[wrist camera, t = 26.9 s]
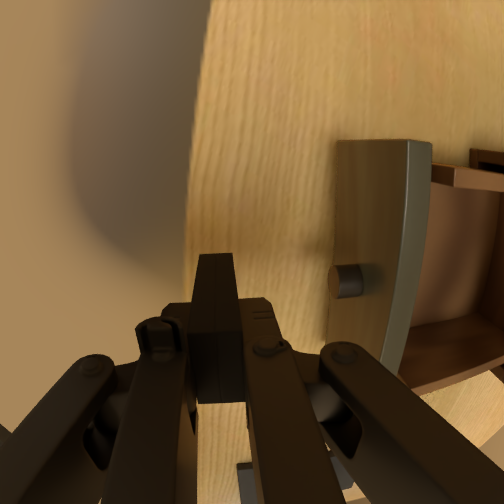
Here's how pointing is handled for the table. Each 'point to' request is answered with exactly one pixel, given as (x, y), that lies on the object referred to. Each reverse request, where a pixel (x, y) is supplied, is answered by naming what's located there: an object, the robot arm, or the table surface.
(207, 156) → the table surface
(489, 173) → the drawer
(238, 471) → the trivet mat
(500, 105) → the table surface
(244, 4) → the table surface
